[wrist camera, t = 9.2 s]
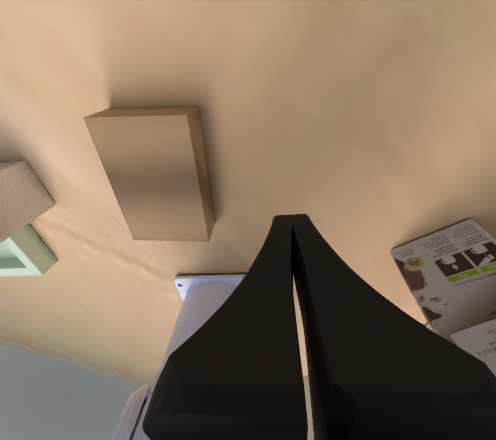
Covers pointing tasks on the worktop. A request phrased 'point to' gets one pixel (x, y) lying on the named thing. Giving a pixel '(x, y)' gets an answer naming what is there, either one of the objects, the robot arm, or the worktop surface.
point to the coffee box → (455, 285)
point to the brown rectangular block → (157, 170)
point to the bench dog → (20, 197)
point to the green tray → (25, 254)
